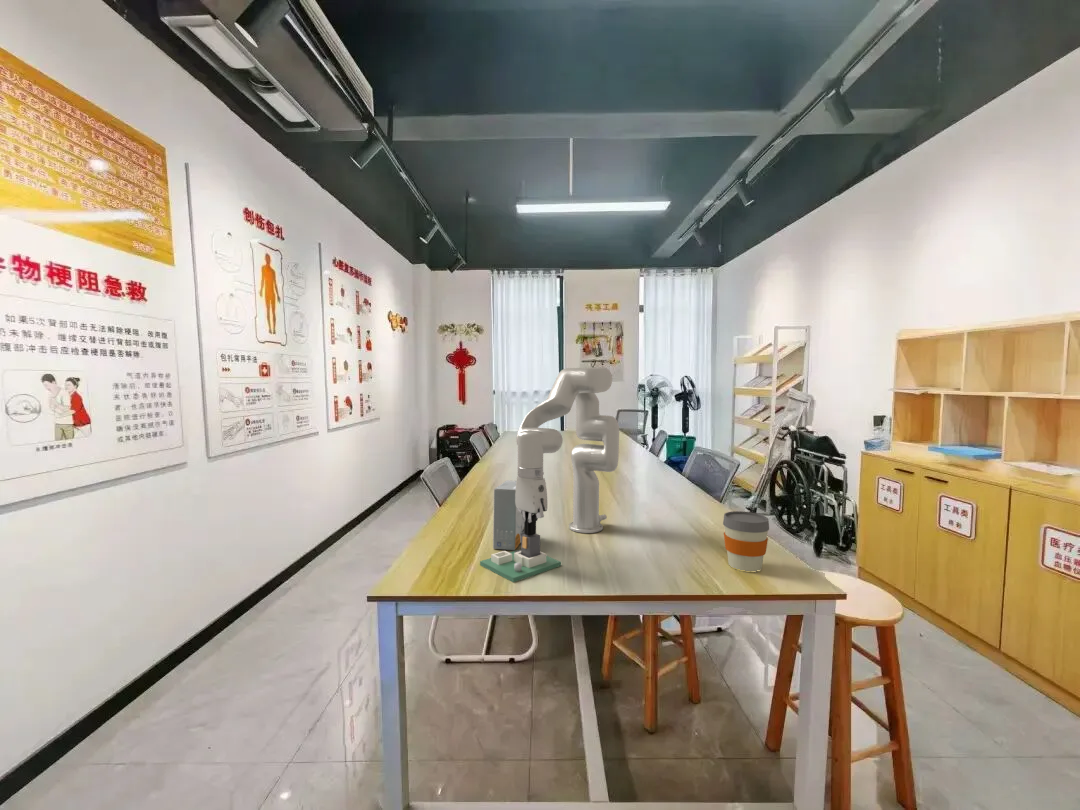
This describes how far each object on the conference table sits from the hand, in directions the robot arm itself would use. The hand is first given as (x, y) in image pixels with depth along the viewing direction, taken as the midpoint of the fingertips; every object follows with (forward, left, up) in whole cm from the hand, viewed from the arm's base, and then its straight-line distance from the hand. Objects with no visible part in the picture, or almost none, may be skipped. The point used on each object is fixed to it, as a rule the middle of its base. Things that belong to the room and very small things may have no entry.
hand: (530, 534), depth 139 cm
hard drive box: (-8, -20, -10) cm, 24 cm away
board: (+2, -2, -10) cm, 10 cm away
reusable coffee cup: (-48, +42, -10) cm, 65 cm away
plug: (0, 0, -8) cm, 8 cm away
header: (0, 0, -8) cm, 8 cm away
